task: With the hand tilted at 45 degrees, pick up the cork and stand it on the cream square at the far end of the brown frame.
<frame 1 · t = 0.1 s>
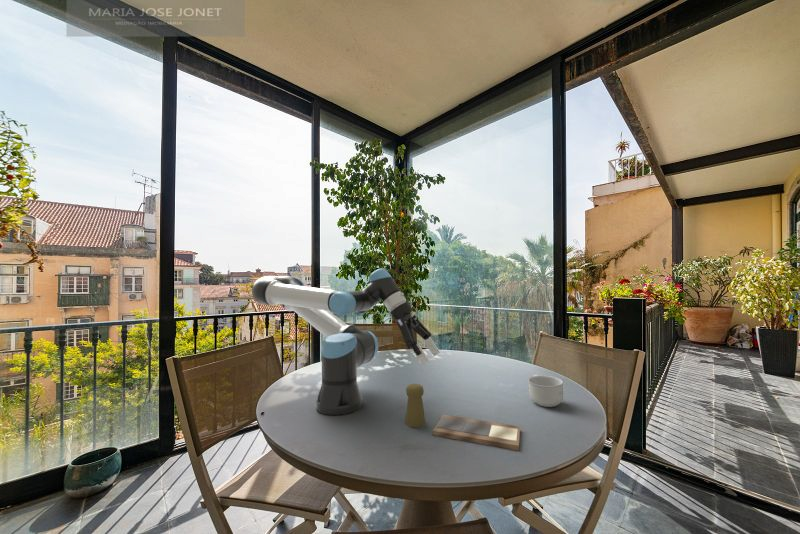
hand: (431, 358, 109), 15 cm above the table, tool tilted 35°, fingers open, 13 cm apart
brown frame: (476, 432, 88), on the table
cork: (415, 423, 95), on the table
teacup: (544, 402, 109), on the table
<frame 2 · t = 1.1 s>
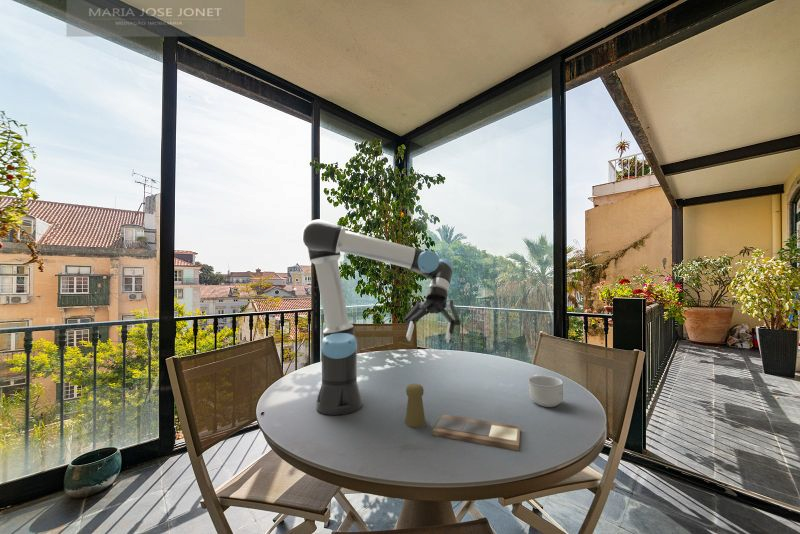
hand: (427, 339, 106), 22 cm above the table, tool tilted 45°, fingers open, 13 cm apart
nothing on the table moved.
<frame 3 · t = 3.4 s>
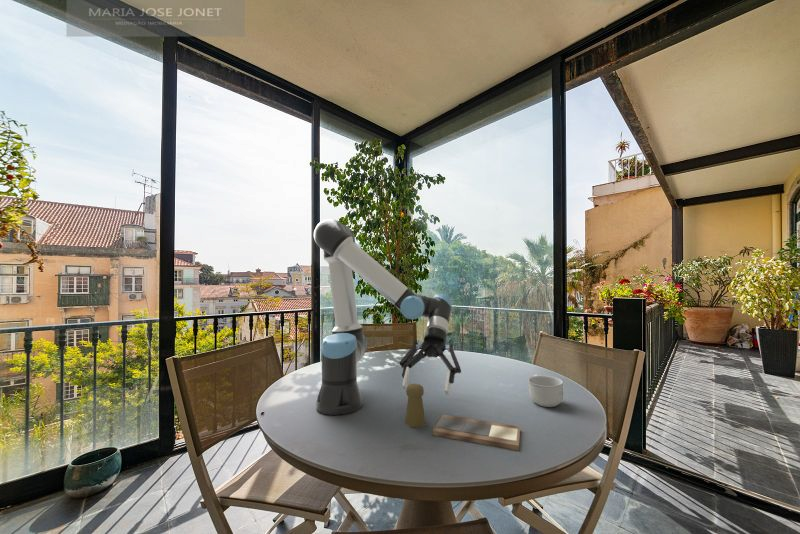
hand: (424, 390, 98), 8 cm above the table, tool tilted 45°, fingers open, 13 cm apart
nothing on the table moved.
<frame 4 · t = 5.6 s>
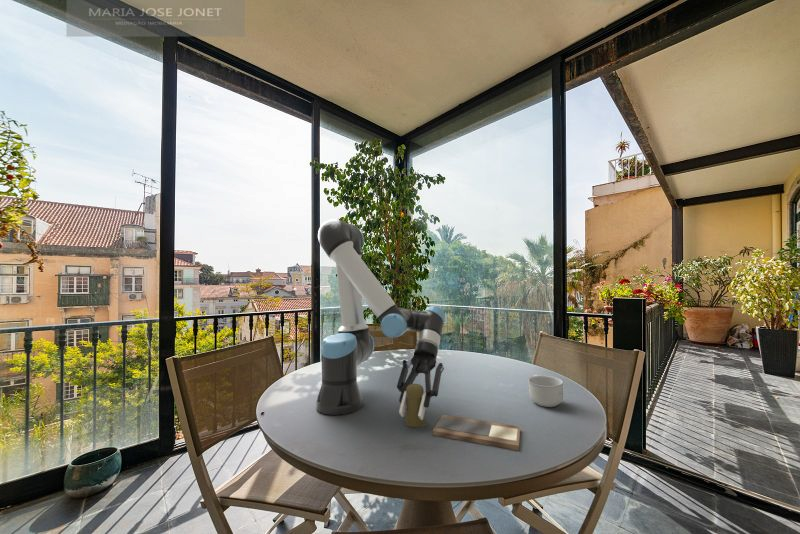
hand: (410, 416, 91), 3 cm above the table, tool tilted 45°, fingers closed on cork, 5 cm apart
cork: (415, 423, 95), on the table, touching gripper
everything else where it was.
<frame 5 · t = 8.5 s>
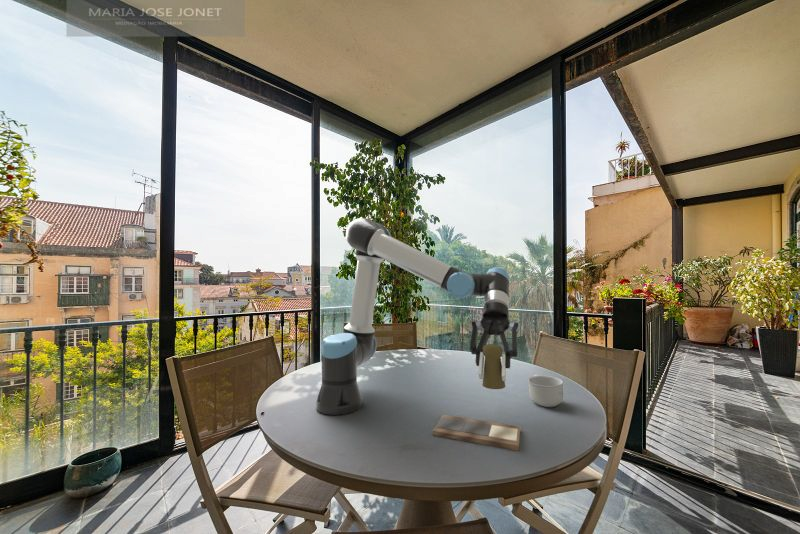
hand: (491, 377, 83), 17 cm above the table, tool tilted 45°, fingers closed on cork, 5 cm apart
cork: (493, 386, 87), point 13 cm above the table, touching gripper
everything else where it was.
when the fingers open (6 cm above the table, at t = 11.3 s): cork drops 1 cm, resting on brown frame.
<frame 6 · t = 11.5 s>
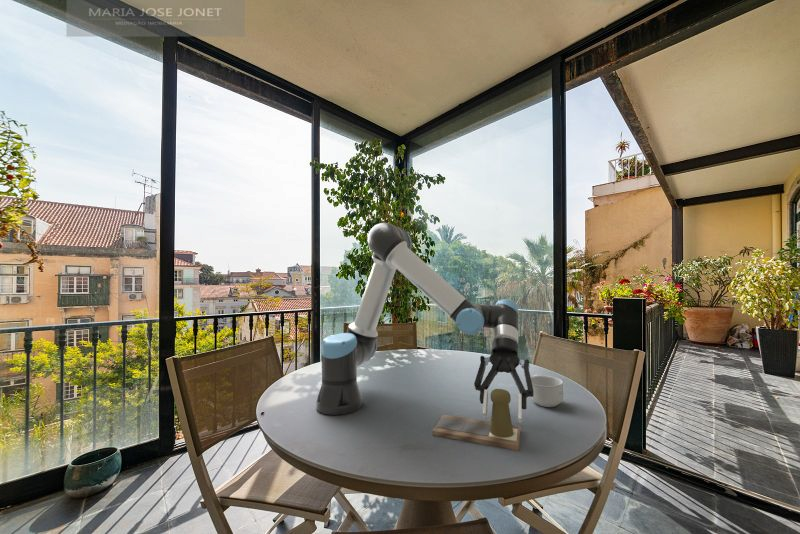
hand: (501, 417, 82), 6 cm above the table, tool tilted 45°, fingers open, 8 cm apart
cork: (501, 432, 85), point 1 cm above the table, touching brown frame
everything else where it was.
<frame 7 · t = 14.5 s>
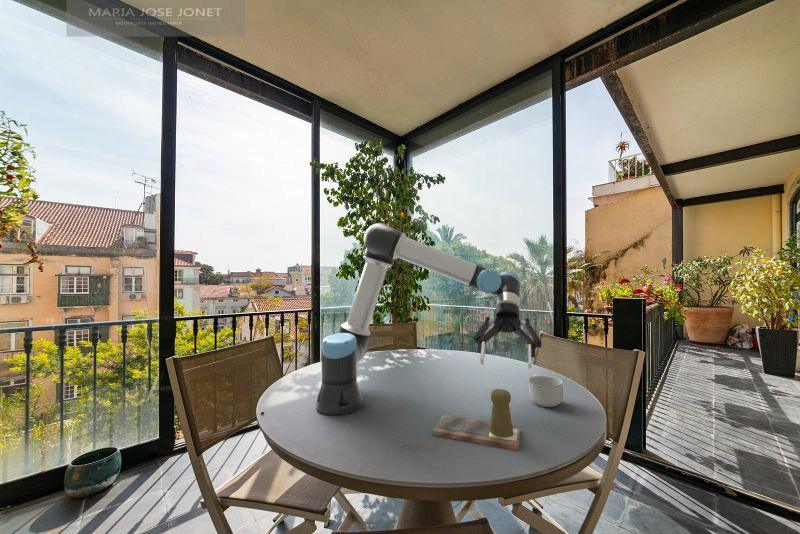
hand: (505, 364, 95), 17 cm above the table, tool tilted 45°, fingers open, 13 cm apart
nothing on the table moved.
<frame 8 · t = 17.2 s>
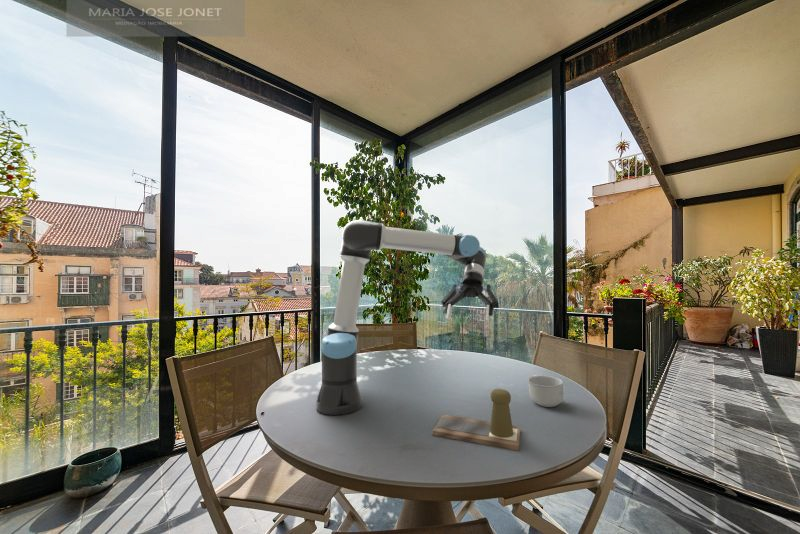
hand: (466, 321, 110), 28 cm above the table, tool tilted 45°, fingers open, 13 cm apart
nothing on the table moved.
at the end: cork inside the target area on the brown frame (0.5 cm from its centre), point 1.1 cm above the brown frame's base; cork tilted 0°; the gripper is holding nothing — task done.
